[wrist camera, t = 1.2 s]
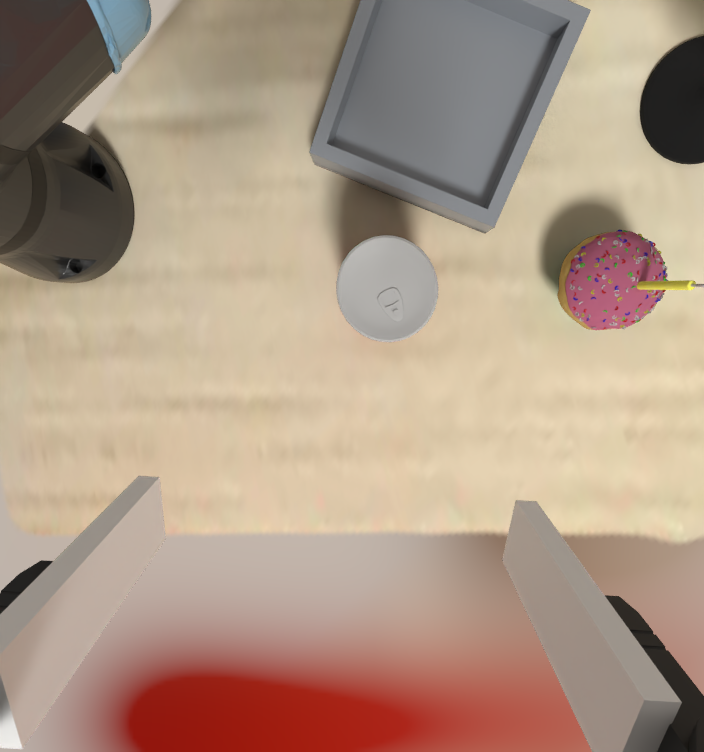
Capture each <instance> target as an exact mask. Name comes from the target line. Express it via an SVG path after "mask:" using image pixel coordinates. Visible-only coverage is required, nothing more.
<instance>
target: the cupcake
mask: <svg viewBox="0 0 704 752" xmlns="http://www.w3.org/2000/svg"><path fill="white" fill-rule="evenodd" d="M639 235H641V234H638V235H637V234H636V233H633V232H630V231H622V230H618V231H616V232H606V233H602V234H598V235H595V236H592V237H589V238H587V239H585V240H583V241H582V242H581V243H580V244H579V245H577V246H576V247H575V248H574V249H573V250H571V251H570V252H569V253H568V255H567V256H566V258H565V260H564V262H563V264H562V267H561V272H560V276H559V291H558V299H559V302H560V305H561V306H562V308H563V309H564V311H565V312H566V313H567V314H568V315H569V316H570V317H571V318H572V319H574V320H575V321H576V322H577V323H579V324H580V325H581V326H583V327H584V328H586V329H591V330H604V329H620V328H622V329H625V328H626V327H628V326H630V325H632V324H634V323H636V322H639V321H640V320H641V319H643V318H644V317H645V316H646V315H647V314H649V313H651V312H650V311H652V310H654V307H655V305H656V304H657V302H658V301H660V300H661V299H662V298H663V295H664V293H663V292H665V291H666V290H692V289H694V288H695V287H704V284H696V282H695V281H668V280H667V279H666V277H667V276H668V275H667V273H666V270H667V267H666V266H665V265H664V264H665V262H664V261H663V259H662V257H661V255H660V254H661V252H660V251H657V248H655V247H654V246H655V243H653V242H651V241H648V239H645V238H643V237H642V235H641V236H639ZM652 244H654V246H653V245H652ZM659 252H660V253H659Z"/></svg>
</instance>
